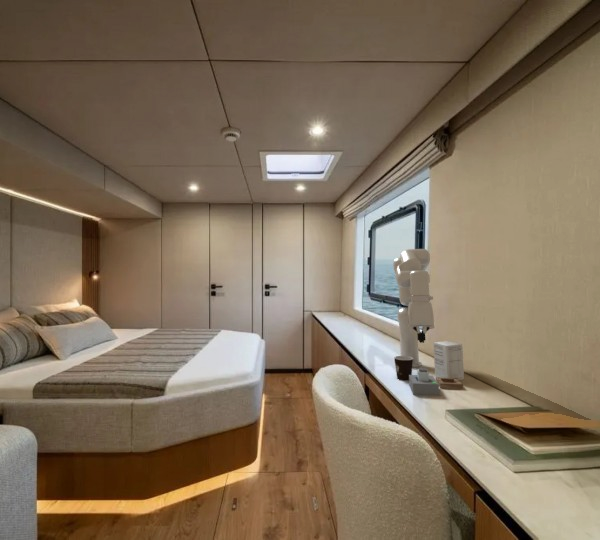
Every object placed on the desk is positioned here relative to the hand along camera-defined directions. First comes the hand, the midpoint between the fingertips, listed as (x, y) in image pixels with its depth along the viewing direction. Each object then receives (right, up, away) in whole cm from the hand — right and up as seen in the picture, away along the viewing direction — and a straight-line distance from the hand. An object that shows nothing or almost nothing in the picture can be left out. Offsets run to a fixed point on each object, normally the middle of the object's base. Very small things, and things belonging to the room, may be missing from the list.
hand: (421, 342), depth 137 cm
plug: (+1, -20, -1) cm, 20 cm away
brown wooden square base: (+14, -21, +5) cm, 25 cm away
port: (+1, -21, -1) cm, 21 cm away
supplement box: (+19, -21, +16) cm, 33 cm away
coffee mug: (-2, -22, +18) cm, 28 cm away
